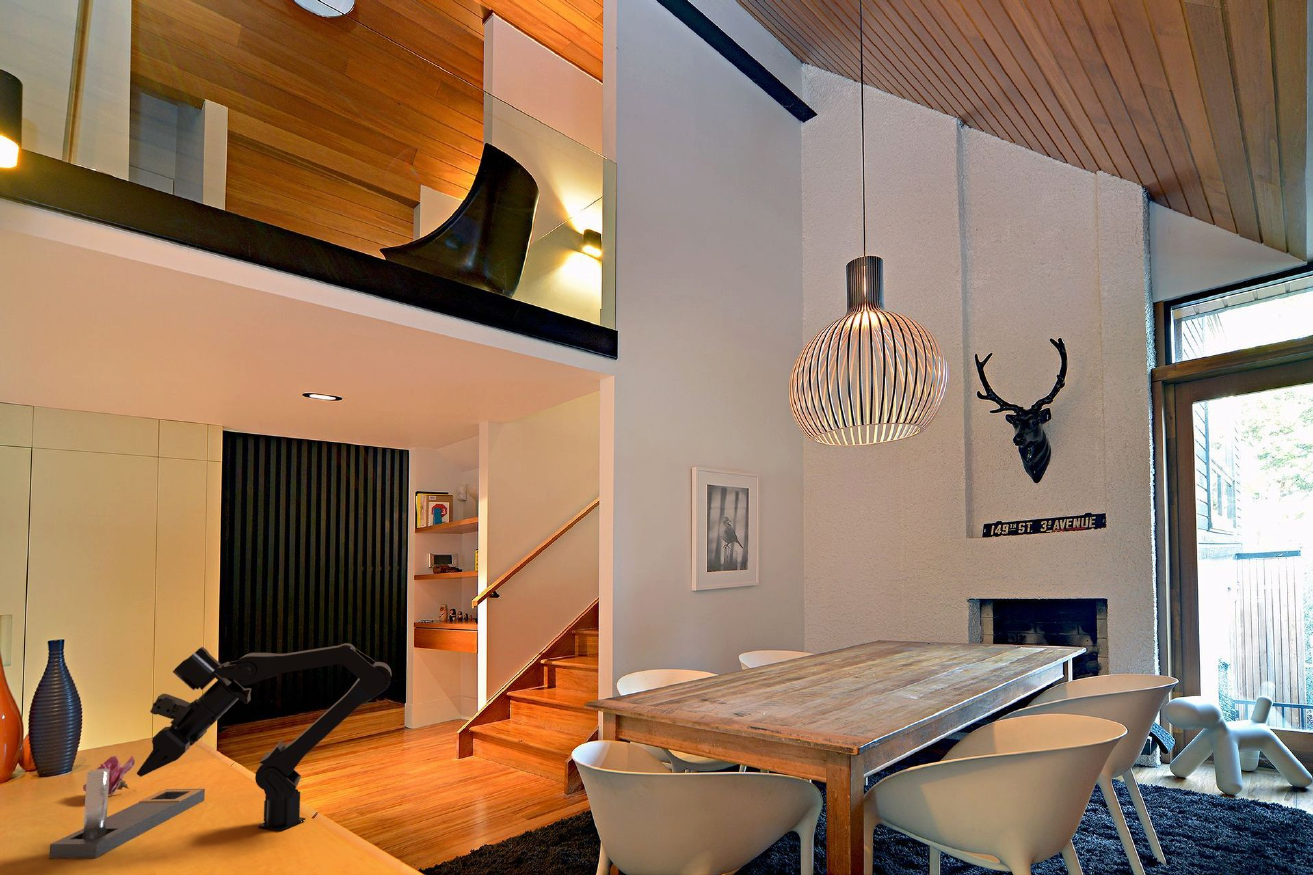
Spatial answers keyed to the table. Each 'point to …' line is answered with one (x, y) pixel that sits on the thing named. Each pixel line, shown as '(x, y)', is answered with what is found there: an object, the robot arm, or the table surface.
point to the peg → (96, 804)
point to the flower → (116, 773)
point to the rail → (128, 823)
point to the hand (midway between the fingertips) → (145, 768)
